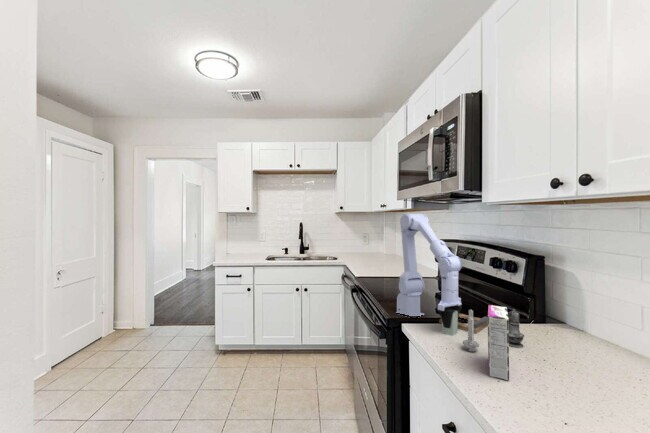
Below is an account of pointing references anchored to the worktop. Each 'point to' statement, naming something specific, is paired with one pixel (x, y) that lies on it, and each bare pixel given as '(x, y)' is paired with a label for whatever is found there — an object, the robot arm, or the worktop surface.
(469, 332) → the screw
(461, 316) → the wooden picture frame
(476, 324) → the metal rail
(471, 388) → the worktop surface
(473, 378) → the worktop surface
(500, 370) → the candy bar box
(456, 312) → the peg
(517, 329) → the grey chess piece
